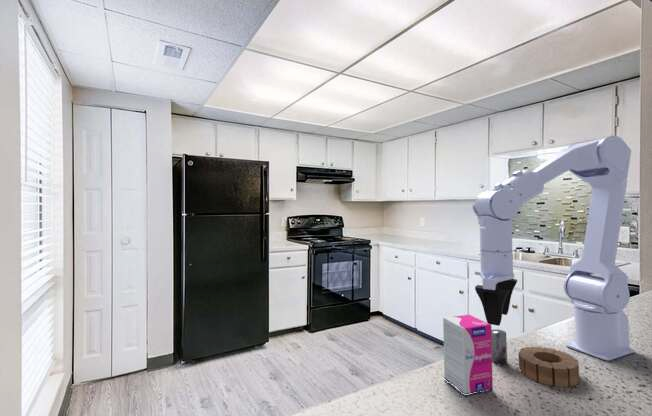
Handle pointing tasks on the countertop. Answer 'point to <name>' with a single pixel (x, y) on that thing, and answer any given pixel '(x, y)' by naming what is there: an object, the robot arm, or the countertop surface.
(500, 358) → the metal peg
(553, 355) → the walnut bead
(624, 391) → the countertop surface
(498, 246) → the robot arm
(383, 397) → the countertop surface
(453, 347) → the supplement box
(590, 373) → the countertop surface
